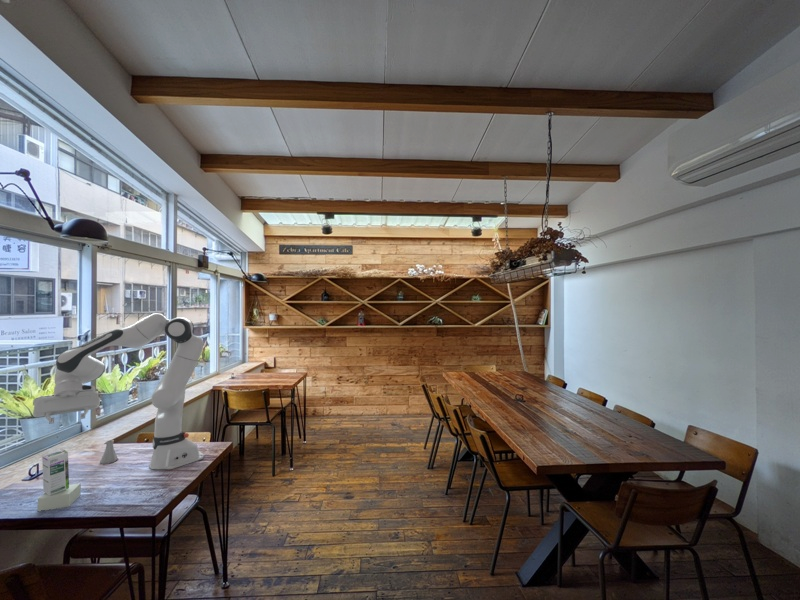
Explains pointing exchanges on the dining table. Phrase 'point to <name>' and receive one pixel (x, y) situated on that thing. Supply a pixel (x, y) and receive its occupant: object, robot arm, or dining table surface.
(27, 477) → the dining table surface
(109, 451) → the flask
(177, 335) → the robot arm
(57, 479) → the syrup box
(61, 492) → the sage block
